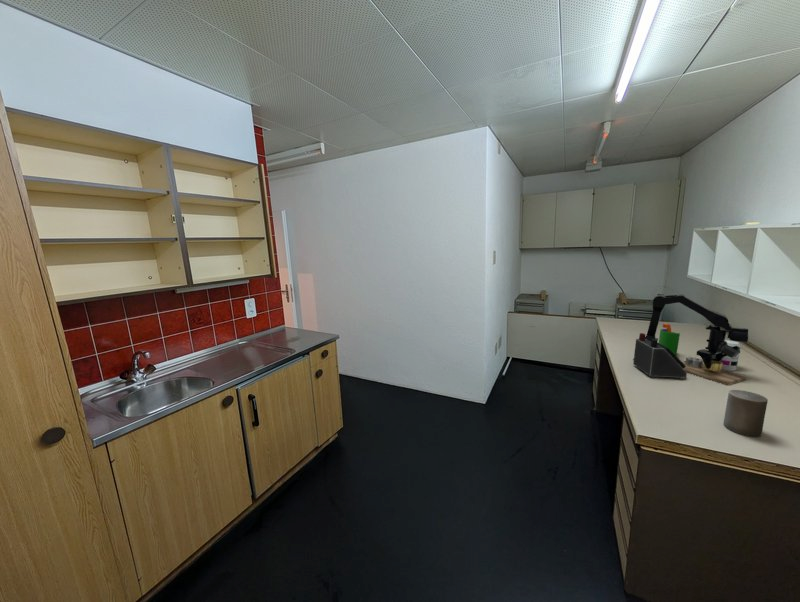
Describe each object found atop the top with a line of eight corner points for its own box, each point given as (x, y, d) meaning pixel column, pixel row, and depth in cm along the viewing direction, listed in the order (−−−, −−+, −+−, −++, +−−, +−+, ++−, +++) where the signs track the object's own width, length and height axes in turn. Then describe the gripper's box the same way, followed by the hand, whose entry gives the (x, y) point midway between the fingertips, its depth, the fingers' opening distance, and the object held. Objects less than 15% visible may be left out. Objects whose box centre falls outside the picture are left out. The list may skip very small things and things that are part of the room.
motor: (681, 358, 182) (686, 326, 179) (666, 359, 183) (670, 326, 179) (667, 352, 192) (671, 321, 189) (652, 353, 192) (656, 322, 189)
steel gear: (697, 369, 163) (698, 362, 163) (682, 365, 169) (683, 358, 169) (705, 367, 165) (706, 360, 165) (690, 363, 172) (691, 356, 171)
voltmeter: (686, 380, 155) (692, 342, 151) (649, 378, 158) (654, 341, 155) (666, 367, 170) (671, 333, 167) (632, 366, 174) (636, 332, 170)
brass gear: (718, 372, 156) (719, 365, 155) (701, 368, 161) (702, 361, 161) (723, 369, 159) (724, 362, 158) (705, 365, 165) (707, 358, 164)
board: (727, 385, 148) (729, 373, 147) (669, 367, 170) (671, 357, 169) (746, 379, 153) (748, 368, 152) (688, 363, 176) (689, 353, 175)
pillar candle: (768, 439, 108) (776, 400, 106) (732, 434, 112) (739, 395, 109) (750, 424, 117) (757, 388, 115) (716, 420, 121) (722, 384, 118)
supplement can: (718, 369, 166) (722, 343, 163) (712, 364, 173) (716, 338, 170) (739, 372, 162) (744, 345, 159) (732, 366, 169) (736, 340, 166)
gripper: (726, 345, 147) (721, 376, 150) (749, 340, 153) (743, 370, 156) (698, 339, 157) (693, 368, 160) (720, 334, 163) (715, 362, 166)
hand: (712, 367), depth 160 cm, fingers closed on brass gear, 7 cm apart
